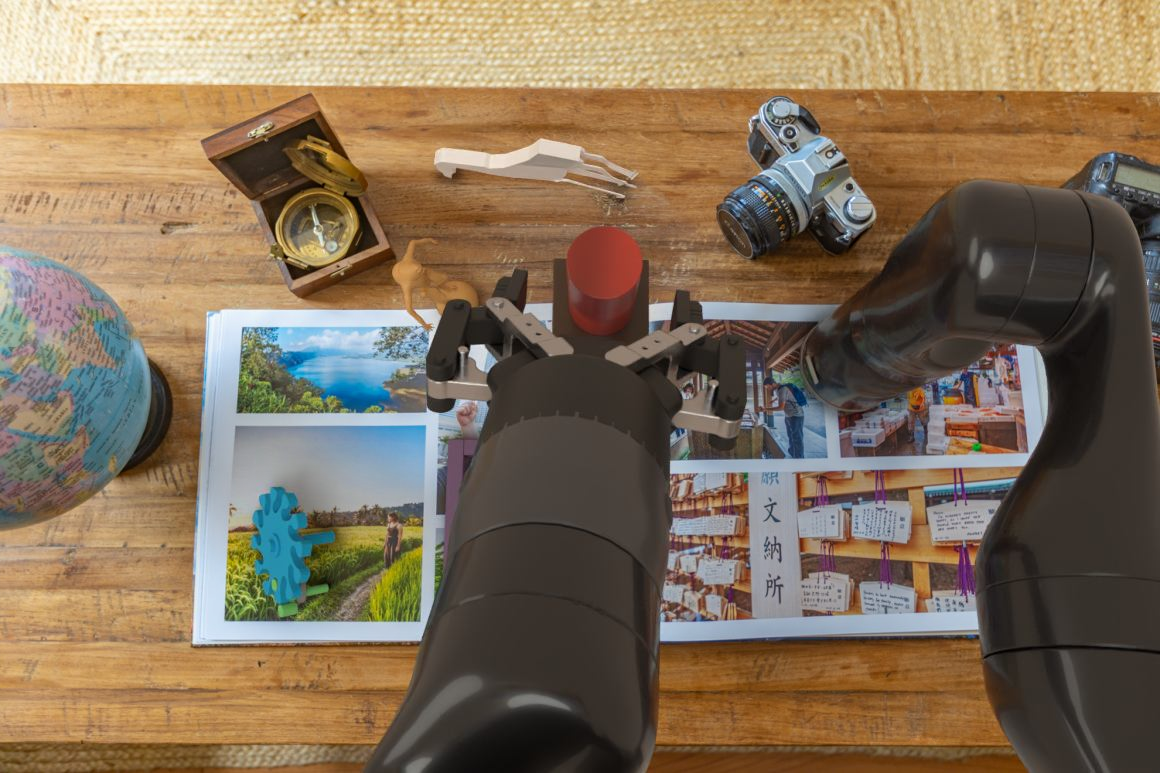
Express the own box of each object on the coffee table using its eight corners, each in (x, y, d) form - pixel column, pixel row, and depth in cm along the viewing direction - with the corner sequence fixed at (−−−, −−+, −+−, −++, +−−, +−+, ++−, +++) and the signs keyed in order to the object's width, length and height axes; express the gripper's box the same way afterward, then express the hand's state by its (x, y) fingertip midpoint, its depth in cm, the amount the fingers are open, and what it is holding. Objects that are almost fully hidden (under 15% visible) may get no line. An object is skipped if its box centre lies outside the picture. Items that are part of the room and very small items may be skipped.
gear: (242, 486, 71) (292, 489, 64) (304, 480, 75) (358, 482, 68) (246, 610, 71) (297, 626, 64) (309, 596, 75) (363, 611, 68)
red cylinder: (633, 274, 49) (643, 226, 41) (633, 336, 48) (642, 299, 41) (569, 273, 49) (566, 225, 41) (568, 335, 48) (565, 298, 41)
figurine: (479, 350, 75) (460, 317, 63) (416, 349, 75) (385, 316, 63) (482, 266, 76) (464, 219, 65) (420, 266, 76) (390, 218, 65)
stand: (626, 350, 75) (649, 259, 49) (626, 413, 74) (649, 352, 48) (563, 349, 75) (553, 257, 49) (562, 412, 74) (551, 351, 48)
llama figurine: (598, 204, 84) (432, 156, 78) (646, 165, 74) (459, 105, 67) (595, 221, 84) (429, 174, 77) (644, 183, 73) (456, 125, 67)
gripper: (379, 548, 31) (467, 337, 44) (739, 599, 31) (719, 370, 44) (367, 394, 27) (469, 211, 40) (786, 450, 26) (749, 247, 40)
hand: (600, 295), depth 42 cm, fingers open, 8 cm apart
